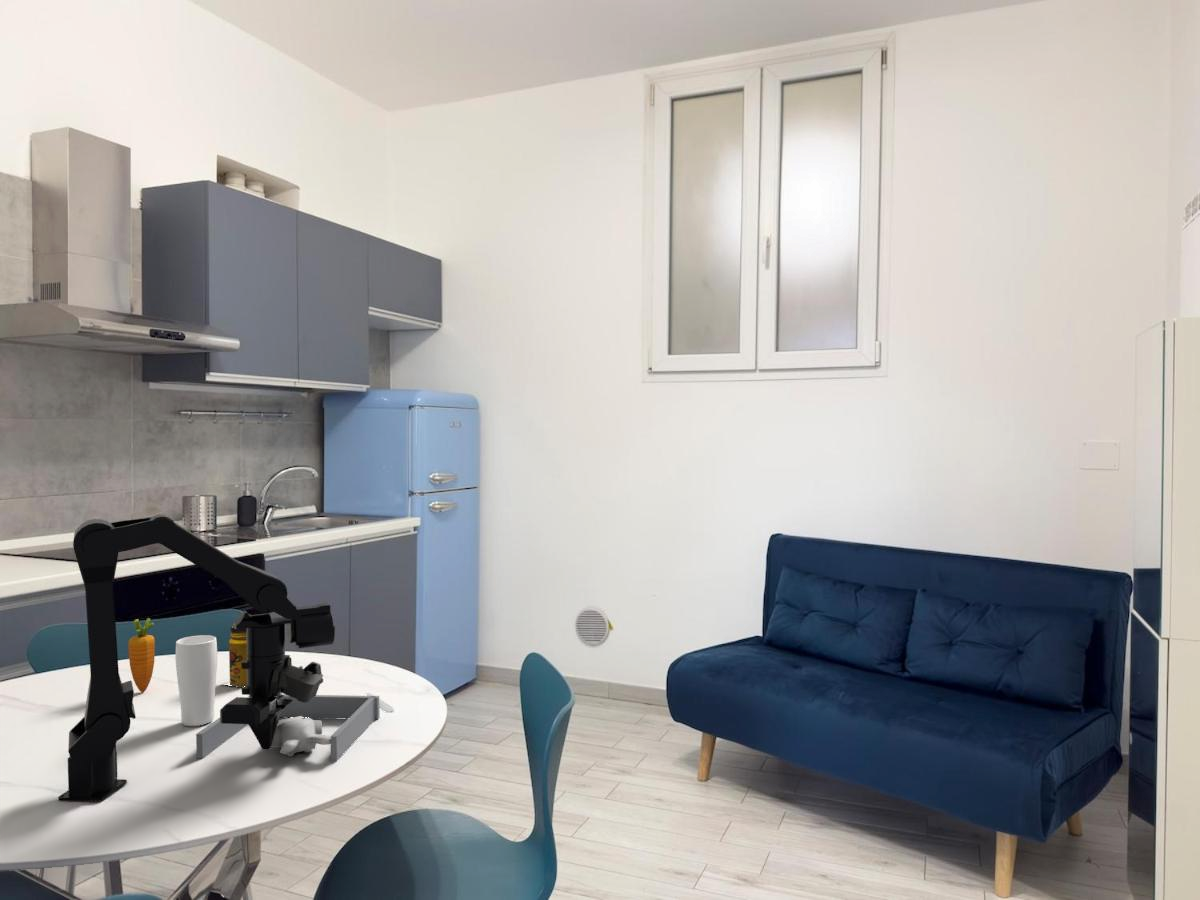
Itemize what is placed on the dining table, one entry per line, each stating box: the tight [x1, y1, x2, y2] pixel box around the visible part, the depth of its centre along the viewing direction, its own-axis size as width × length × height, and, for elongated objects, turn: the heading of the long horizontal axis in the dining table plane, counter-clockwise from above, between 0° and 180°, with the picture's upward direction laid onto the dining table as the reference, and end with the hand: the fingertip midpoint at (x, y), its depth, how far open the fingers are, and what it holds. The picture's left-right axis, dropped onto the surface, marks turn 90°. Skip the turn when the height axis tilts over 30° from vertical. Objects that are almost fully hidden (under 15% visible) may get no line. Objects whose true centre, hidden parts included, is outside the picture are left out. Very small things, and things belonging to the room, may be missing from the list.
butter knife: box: [365, 692, 395, 713], centre depth 171 cm, size 1×27×3 cm
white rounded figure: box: [271, 716, 331, 757], centre depth 141 cm, size 10×5×15 cm
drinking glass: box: [175, 634, 218, 727], centre depth 154 cm, size 7×7×15 cm
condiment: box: [223, 625, 247, 689], centre depth 178 cm, size 7×8×12 cm
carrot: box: [128, 617, 156, 693], centre depth 171 cm, size 5×5×15 cm
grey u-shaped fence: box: [195, 693, 381, 762], centre depth 147 cm, size 20×24×4 cm
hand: (266, 748), depth 138 cm, fingers closed
